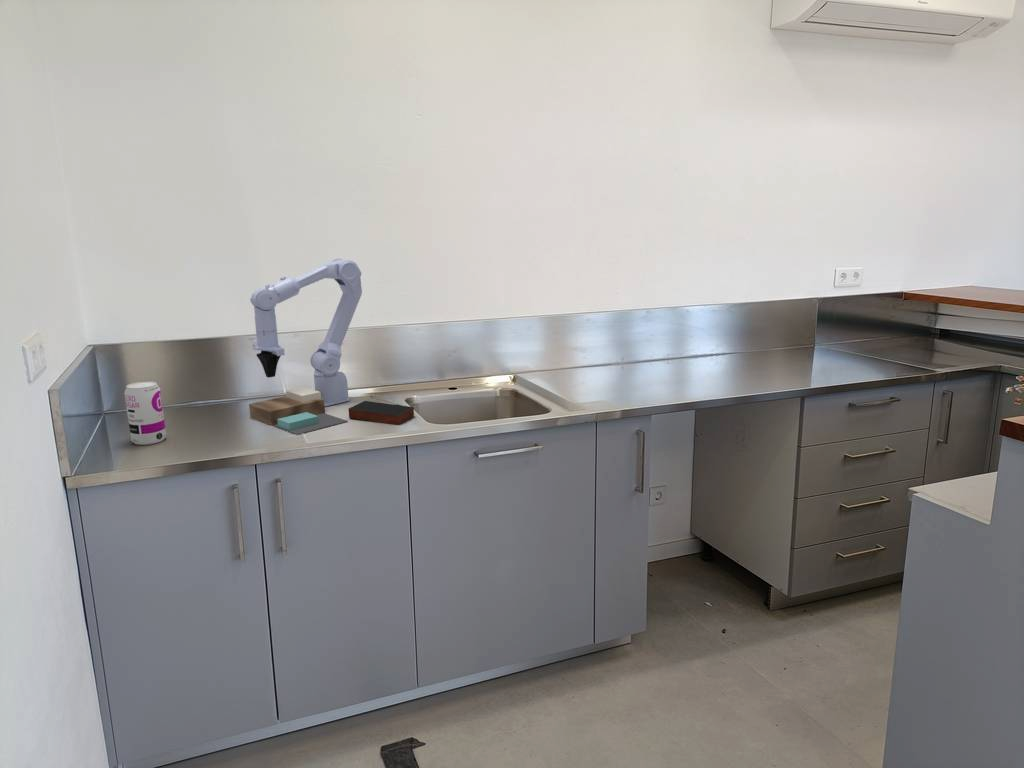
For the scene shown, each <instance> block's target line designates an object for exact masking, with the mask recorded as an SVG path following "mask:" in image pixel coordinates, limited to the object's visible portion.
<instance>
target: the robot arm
mask: <svg viewBox="0 0 1024 768" xmlns="http://www.w3.org/2000/svg"><path fill="white" fill-rule="evenodd" d="M361 276H362V271H361V269H360V268H359V266H358V264H357V263H356V262H355V261H353V260H350V259H349V260H348V259H342V258H335V259H333V260H331V261H330V260H329V261H327V262H324V263H321V264H320V265H318V266H316V267H314V268H313V269H310V270H309V271H307V272H304V273H303V274H300V275H299V276H297V277H295V278H294V277H293V276H281V277H280V278H279V279H280V280H278V281H276V282H273V283H271V284H269V283H267V284H265V286H264V287H265V288H257V289H255V290H254V291H253V293H252V294H251V298H249V300H250V302H251V304H252V306H253V308H254V324H255V333H256V342H253V343H252V350H254V351H260V353H259V352H258V353H256V357H257V358H258V360H259V361H260V363H261V366H262V368H263V372H264V374H265V376H266V378H268V379H270V378H275V377H276V374H277V373H276V372H277V367H278V364H279V360H280V358H281V357H282V356H285V348H284V347H282V346H281V345H280V344H279V338H278V337H279V336H278V328H277V327H278V325H277V318H276V317H277V316H276V311H275V310H276V309H275V307H276V306H277V304H280V303H282V302H285V301H288V300H289V299H291V298H293V297H295V296H297V295H299V293H300V290H301V289H302V288H305V287H307V286H310V285H312V284H315V283H316V282H317V283H318V282H319V281H321V280H323V279H329V280H330V279H332V280H334V281H335V282H337V284H338V285H339V288H340V289H341V291H342V295H341V297H340V299H339V302H338V305H337V306H336V309H335V312H334V315H333V317H332V320H331V322H330V325H329V327H328V330H327V332H326V335H325V337H324V340H323V341H322V342H321V343H319V345H318V347H317V349H316V351H315V352H313V353H312V354H311V357H310V360H309V361H310V365H311V367H312V368H313V369H314V372H313V381H314V390H316V391H319V392H321V399H324V407H328V406H329V407H330V406H333V405H337V404H341V403H345V402H350V401H351V399H350V398H349V389H348V388H349V386H348V377H347V376H346V374H345V373H344V372H342V371H339V370H340V368H341V358H342V345H343V342H344V340H345V338H346V335H347V332H348V330H349V327H350V324H351V322H352V319H353V317H354V314H355V313H356V309H357V307H358V304H359V303H360V299H361V297H362V295H363V294H362V293H363V289H362V288H363V287H362V281H361V280H362V279H361Z"/></svg>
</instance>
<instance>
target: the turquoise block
mask: <svg viewBox="0 0 1024 768" xmlns="http://www.w3.org/2000/svg"><path fill="white" fill-rule="evenodd" d="M277 421H278V426H279V427H282V428H284V429H287V430H293V429H297V428H301V427H305V426H309V425H313V424H317V423H319V421H318V416H316V415H313V414H310V413H307V412H305V413H301V414H297V415H292V416H288V417H284V418H280V419H277Z"/></svg>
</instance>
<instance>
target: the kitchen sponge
mask: <svg viewBox="0 0 1024 768" xmlns="http://www.w3.org/2000/svg"><path fill="white" fill-rule="evenodd" d="M370 398H373V399H376V400H380V401H383V402H384V403H383V402H377V401H370V400H364V401H361V402H359V403H357V404H355V405H353V406H351V407H349V408H348V418H349V419H354V420H362V421H369V422H376V423H377V422H378V423H381V424H382V423H384V424H391V425H397V426H399V425H402V424H403V423H405V422H407V421H409V420H410V419H412V418H414V417H415V409H414V408H415V407H414V406H408V405H402V404H399V403H394V402H391V401H387V400H384V399H381V398H377V397H373V396H372V395H371V396H370ZM385 402H387V403H385Z"/></svg>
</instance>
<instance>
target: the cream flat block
mask: <svg viewBox="0 0 1024 768" xmlns="http://www.w3.org/2000/svg"><path fill="white" fill-rule="evenodd" d="M285 394H286V395H285V396H286V397H287V398H290V399H293V400H296V401H299V402H302V403H304V402H308V401H312V400H317V399H321V392H319V391H316V390H315V389H312V388H308V387H306V386H302V387H298V388H291V389H289V390H286V391H285Z"/></svg>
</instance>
